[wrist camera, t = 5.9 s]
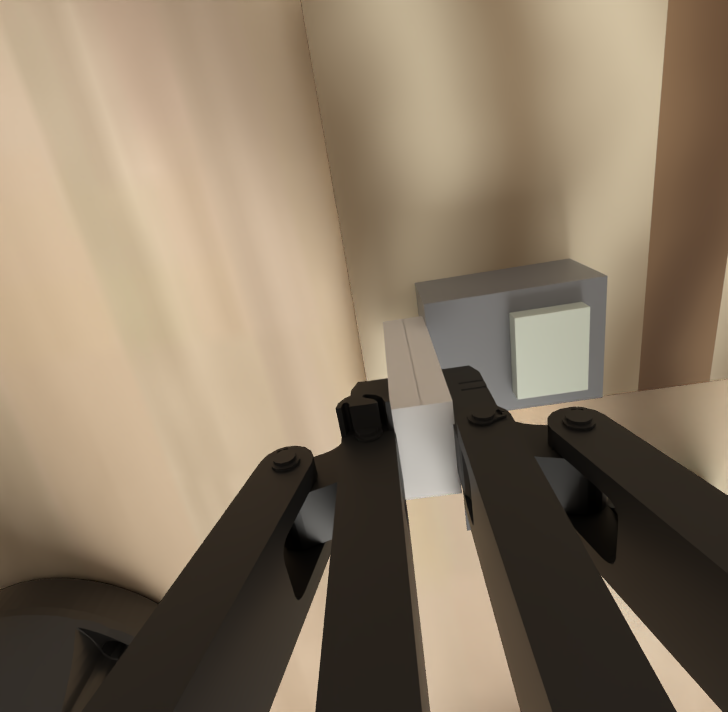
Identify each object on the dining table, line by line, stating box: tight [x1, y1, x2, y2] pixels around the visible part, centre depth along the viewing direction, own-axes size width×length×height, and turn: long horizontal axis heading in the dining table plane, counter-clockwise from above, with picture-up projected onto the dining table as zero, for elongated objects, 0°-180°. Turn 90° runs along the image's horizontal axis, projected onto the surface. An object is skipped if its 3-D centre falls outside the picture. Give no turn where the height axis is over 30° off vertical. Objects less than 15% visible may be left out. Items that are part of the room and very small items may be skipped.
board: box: [301, 0, 728, 396], centre depth 18 cm, size 20×16×1 cm
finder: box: [415, 258, 608, 411], centre depth 17 cm, size 6×4×4 cm
